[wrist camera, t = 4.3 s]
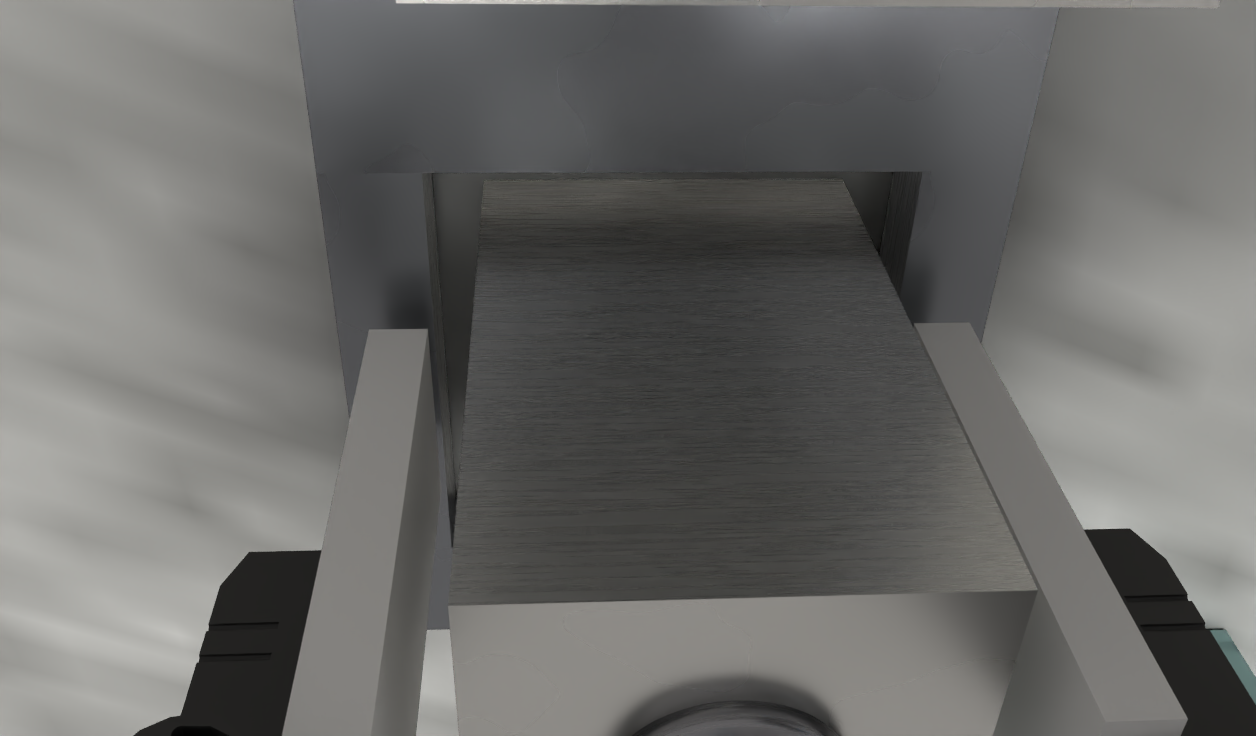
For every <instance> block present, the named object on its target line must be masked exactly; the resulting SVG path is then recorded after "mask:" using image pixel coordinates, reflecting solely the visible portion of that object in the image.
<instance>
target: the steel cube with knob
mask: <svg viewBox="0 0 1256 736" xmlns="http://www.w3.org/2000/svg"><path fill="white" fill-rule="evenodd" d="M1037 592H1038V589H1037V587H1036V585H1035V583H1034V581H1033V579H1032V576H1031V574H1030V572H1029V570H1028V568H1027V566H1026V564H1025V562H1024V560H1023V558H1022V555H1021V553H1020V551H1019V549H1018V547H1017V545H1016V543H1015V541H1014V539H1013V537H1012V534H1011V532H1010V530H1009V528H1008V526H1007V524H1006V522H1005V520H1004V518H1003V516H1002V513H1001V511H1000V509H999V507H998V505H997V503H996V501H995V499H994V497H993V495H992V492H991V490H990V488H989V486H988V484H987V482H986V480H985V478H984V476H983V474H982V471H981V469H980V467H979V465H978V463H977V461H976V459H975V457H974V455H973V453H972V450H971V448H970V446H969V444H968V442H967V440H966V438H965V436H964V434H963V432H962V429H961V427H960V425H959V423H958V421H957V419H956V417H955V415H954V413H953V411H952V408H951V406H950V404H949V402H948V400H947V398H946V396H945V394H944V392H943V390H942V387H941V385H940V383H939V381H938V379H937V377H936V375H935V373H934V371H933V369H932V366H931V364H930V362H929V360H928V358H927V356H926V354H925V352H924V350H923V348H922V345H921V343H920V341H919V339H918V337H917V335H916V333H915V331H914V329H913V327H912V324H911V322H910V320H909V318H908V316H907V314H906V312H905V310H904V308H903V306H902V303H901V301H900V299H899V297H898V295H897V293H896V291H895V289H894V287H893V285H892V282H891V280H890V278H889V276H888V274H887V272H886V270H885V268H884V266H883V264H882V261H881V259H880V257H879V255H878V253H877V251H876V249H875V247H874V245H873V243H872V240H871V238H870V236H869V234H868V232H867V230H866V228H865V226H864V224H863V222H862V219H861V217H860V215H859V213H858V211H857V209H856V207H855V205H854V203H853V201H852V198H851V196H850V194H849V192H848V190H847V188H846V186H845V184H844V182H843V180H842V179H607V180H484V186H483V198H482V210H481V222H480V234H479V246H478V257H477V269H476V281H475V293H474V305H473V317H472V328H471V340H470V352H469V364H468V376H467V388H466V400H465V411H464V423H463V435H462V447H461V459H460V471H459V482H458V494H457V506H456V518H455V530H454V542H453V553H452V565H451V577H450V589H449V601H448V611H449V623H450V635H451V646H452V658H453V670H454V682H455V693H456V705H457V717H458V728H459V736H993V733H994V730H995V727H996V724H997V720H998V717H999V714H1000V711H1001V708H1002V704H1003V701H1004V698H1005V695H1006V691H1007V688H1008V685H1009V682H1010V679H1011V675H1012V672H1013V669H1014V666H1015V663H1016V659H1017V656H1018V653H1019V650H1020V646H1021V643H1022V640H1023V637H1024V634H1025V630H1026V627H1027V624H1028V621H1029V618H1030V614H1031V611H1032V608H1033V605H1034V601H1035V598H1036V595H1037Z"/></svg>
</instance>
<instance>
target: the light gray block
mask: <svg viewBox="0 0 1256 736" xmlns="http://www.w3.org/2000/svg"><path fill="white" fill-rule="evenodd" d="M1220 2H1221V0H396V3H428V4H596V5H764V6H933V7H1101V8H1219V5H1220Z"/></svg>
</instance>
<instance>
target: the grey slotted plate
mask: <svg viewBox="0 0 1256 736" xmlns="http://www.w3.org/2000/svg"><path fill="white" fill-rule="evenodd" d="M293 4H294V11H295V18H296V26H297V33H298V41H299V48H300V55H301V63H302V70H303V78H304V85H305V92H306V100H307V107H308V115H309V122H310V129H311V137H312V144H313V152H314V159H315V167H316V174H317V181H318V189H319V196H320V204H321V211H322V218H323V226H324V233H325V241H326V248H327V255H328V263H329V270H330V278H331V285H332V292H333V300H334V307H335V315H336V322H337V329H338V337H339V344H340V352H341V359H342V367H343V374H344V381H345V389H346V396H347V404H348V411H349V418H350V416H351V411H352V407H353V402H354V397H355V393H356V388H357V383H358V379H359V374H360V369H361V365H362V360H363V355H364V351H365V346H366V341H367V337H368V332H369V330H372V329H428V337H429V349H430V361H431V373H432V385H433V397H434V409H435V421H436V433H437V445H438V457H439V469H440V481H441V495H440V504H439V514H438V524H437V534H436V543H435V553H434V563H433V573H432V582H431V592H430V602H429V612H428V621H427V630H434V629H450V623H449V611H448V601H449V589H450V577H451V565H452V553H453V542H454V530H455V518H456V506H457V498H456V490H455V477H454V464H453V450H452V437H451V423H450V410H449V397H448V383H447V370H446V356H445V343H444V329H443V316H442V303H441V289H440V276H439V262H438V249H437V236H436V222H435V209H434V195H433V182H432V173H631V172H893V177H892V183H891V189H890V195H889V201H888V207H887V213H886V219H885V225H884V230H883V236H882V242H881V248H880V254H879V257H880V259H881V261H882V264H883V266H884V268H885V270H886V272H887V274H888V276H889V278H890V280H891V282H892V285H893V287H894V289H895V291H896V293H897V295H898V297H899V299H900V301H901V303H902V306H903V308H904V310H905V312H906V314H907V316H908V318H909V320H910V322H911V324H912V327H913V326H914V323H967V322H969V323H970V324H971V326H972V328H973V330H974V332H975V333H976V335H977V337H978V339H979V341H980V343H981V342H982V337H983V333H984V329H985V324H986V320H987V316H988V312H989V307H990V303H991V299H992V295H993V290H994V286H995V282H996V277H997V273H998V269H999V265H1000V260H1001V256H1002V252H1003V248H1004V243H1005V239H1006V235H1007V230H1008V226H1009V222H1010V218H1011V213H1012V209H1013V205H1014V201H1015V196H1016V192H1017V188H1018V183H1019V179H1020V175H1021V171H1022V166H1023V162H1024V158H1025V154H1026V149H1027V145H1028V141H1029V136H1030V132H1031V128H1032V124H1033V119H1034V115H1035V111H1036V107H1037V102H1038V98H1039V94H1040V89H1041V85H1042V81H1043V77H1044V72H1045V68H1046V64H1047V60H1048V55H1049V51H1050V47H1051V42H1052V38H1053V34H1054V30H1055V25H1056V21H1057V17H1058V13H1059V8H1060V7H933V6H764V5H596V4H428V3H396V0H293Z"/></svg>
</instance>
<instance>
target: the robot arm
mask: <svg viewBox="0 0 1256 736" xmlns="http://www.w3.org/2000/svg"><path fill="white" fill-rule="evenodd" d="M913 329H914V331H915V333H916V335H917V337H918V339H919V341H920V343H921V345H922V348H923V350H924V352H925V354H926V356H927V358H928V360H929V362H930V364H931V366H932V369H933V371H934V373H935V375H936V377H937V379H938V381H939V383H940V385H941V387H942V390H943V392H944V394H945V396H946V398H947V400H948V402H949V404H950V406H951V408H952V411H953V413H954V415H955V417H956V419H957V421H958V423H959V425H960V427H961V429H962V432H963V434H964V436H965V438H966V440H967V442H968V444H969V446H970V448H971V450H972V453H973V455H974V457H975V459H976V461H977V463H978V465H979V467H980V469H981V471H982V474H983V476H984V478H985V480H986V482H987V484H988V486H989V488H990V490H991V492H992V495H993V497H994V499H995V501H996V503H997V505H998V507H999V509H1000V511H1001V513H1002V516H1003V518H1004V520H1005V522H1006V524H1007V526H1008V528H1009V530H1010V532H1011V534H1012V537H1013V539H1014V541H1015V543H1016V545H1017V547H1018V549H1019V551H1020V553H1021V555H1022V558H1023V560H1024V562H1025V564H1026V566H1027V568H1028V570H1029V572H1030V574H1031V576H1032V579H1033V581H1034V583H1035V585H1036V587H1037V589H1038V592H1037V595H1036V598H1035V601H1034V605H1033V608H1032V611H1031V614H1030V618H1029V621H1028V624H1027V627H1026V630H1025V634H1024V637H1023V640H1022V643H1021V646H1020V650H1019V653H1018V656H1017V659H1016V663H1015V666H1014V669H1013V672H1012V675H1011V679H1010V682H1009V685H1008V688H1007V691H1006V695H1005V698H1004V701H1003V704H1002V708H1001V711H1000V714H999V717H998V720H997V724H996V727H995V730H994V733H993V736H1256V704H1255V703H1254V701H1253V699H1252V698H1251V696H1250V695H1249V693H1248V691H1247V690H1246V688H1245V686H1244V685H1243V683H1242V682H1241V680H1240V678H1239V677H1238V675H1237V674H1236V672H1235V670H1234V669H1233V667H1232V665H1231V664H1230V662H1229V661H1228V659H1227V657H1226V656H1225V654H1224V652H1223V651H1222V649H1221V648H1220V646H1219V644H1218V643H1217V641H1216V639H1215V638H1214V636H1213V635H1212V633H1211V631H1210V630H1206V629H1205V622H1204V620H1203V618H1202V617H1201V615H1200V613H1199V612H1198V610H1197V609H1196V607H1195V605H1194V604H1193V602H1192V601H1188V599H1187V595H1188V594H1187V592H1186V591H1185V589H1184V588H1183V586H1182V584H1181V583H1180V581H1179V579H1178V578H1177V576H1176V575H1175V573H1174V571H1173V570H1172V568H1171V566H1170V565H1169V563H1168V562H1167V560H1166V559H1165V558H1164V557H1163V556H1162V555H1161V554H1159V553H1158V552H1157V551H1156V550H1155V549H1153V548H1152V547H1151V546H1150V545H1149V544H1147V543H1146V542H1145V541H1144V540H1143V539H1142V538H1140V537H1139V536H1138V535H1137V534H1136V533H1134V532H1133V531H1132V530H1131V529H1093V530H1084V529H1083V528H1082V526H1081V524H1080V522H1079V520H1078V519H1077V517H1076V515H1075V513H1074V511H1073V509H1072V508H1071V506H1070V504H1069V502H1068V500H1067V499H1066V497H1065V495H1064V493H1063V491H1062V489H1061V488H1060V486H1059V484H1058V482H1057V480H1056V479H1055V477H1054V475H1053V473H1052V471H1051V470H1050V468H1049V466H1048V464H1047V462H1046V460H1045V459H1044V457H1043V455H1042V453H1041V451H1040V450H1039V448H1038V446H1037V444H1036V442H1035V441H1034V439H1033V437H1032V435H1031V433H1030V431H1029V430H1028V428H1027V426H1026V424H1025V422H1024V421H1023V419H1022V417H1021V415H1020V413H1019V411H1018V410H1017V408H1016V406H1015V404H1014V402H1013V401H1012V399H1011V397H1010V395H1009V393H1008V392H1007V390H1006V388H1005V386H1004V384H1003V382H1002V381H1001V379H1000V377H999V375H998V373H997V372H996V370H995V368H994V366H993V364H992V363H991V361H990V359H989V357H988V355H987V353H986V352H985V350H984V348H983V346H982V344H981V343H980V341H979V339H978V337H977V335H976V333H975V332H974V330H973V328H972V326H971V324H970V323H969V322H967V323H914V326H913ZM440 495H441V481H440V469H439V457H438V445H437V433H436V421H435V409H434V397H433V385H432V373H431V361H430V349H429V337H428V329H372V330H369V332H368V337H367V341H366V346H365V351H364V355H363V360H362V365H361V369H360V374H359V379H358V383H357V388H356V393H355V397H354V402H353V407H352V411H351V416H350V421H349V425H348V430H347V435H346V439H345V444H344V449H343V453H342V458H341V462H340V467H339V472H338V476H337V481H336V486H335V490H334V495H333V500H332V504H331V509H330V514H329V518H328V523H327V528H326V532H325V537H324V542H323V546H322V550H318V551H276V552H249V553H248V554H247V555H246V556H245V558H244V559H243V560H242V561H241V562H240V563H239V565H238V566H237V567H236V568H235V569H234V570H233V572H232V573H231V574H230V575H229V576H228V577H227V579H226V580H225V581H224V582H223V583H222V584H221V586H220V588H219V592H218V595H217V598H216V601H215V605H214V608H213V611H212V615H211V618H210V621H209V631H206V634H205V638H204V641H203V644H202V647H201V651H200V654H199V657H200V659H199V663H197V664H196V667H195V670H194V674H193V677H192V680H191V684H190V687H189V690H188V693H187V697H186V700H185V703H184V707H183V710H182V713H181V716H176V717H170V718H167V719H165V720H163V721H160V722H158V723H156V724H153V725H151V726H149V727H146V728H144V729H142V730H140V731H139V732H137V733H136V734H135V735H134V736H416V728H417V719H418V709H419V699H420V689H421V680H422V670H423V660H424V650H425V641H426V631H427V621H428V612H429V602H430V592H431V582H432V573H433V563H434V553H435V543H436V534H437V524H438V514H439V504H440Z"/></svg>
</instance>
